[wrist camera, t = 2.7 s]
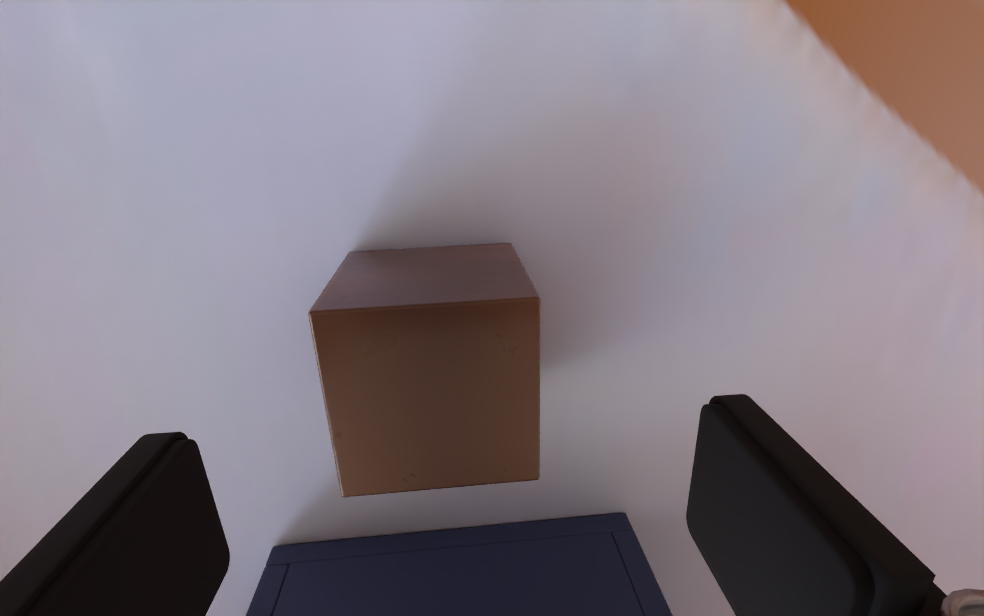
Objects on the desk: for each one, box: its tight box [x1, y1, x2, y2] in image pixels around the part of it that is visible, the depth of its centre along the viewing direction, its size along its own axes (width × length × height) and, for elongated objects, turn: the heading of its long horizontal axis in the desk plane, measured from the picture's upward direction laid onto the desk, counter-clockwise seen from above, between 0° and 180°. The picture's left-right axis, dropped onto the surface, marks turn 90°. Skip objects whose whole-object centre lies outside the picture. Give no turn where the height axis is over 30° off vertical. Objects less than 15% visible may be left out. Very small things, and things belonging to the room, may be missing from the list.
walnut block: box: [308, 243, 540, 497], centre depth 14 cm, size 5×5×5 cm
